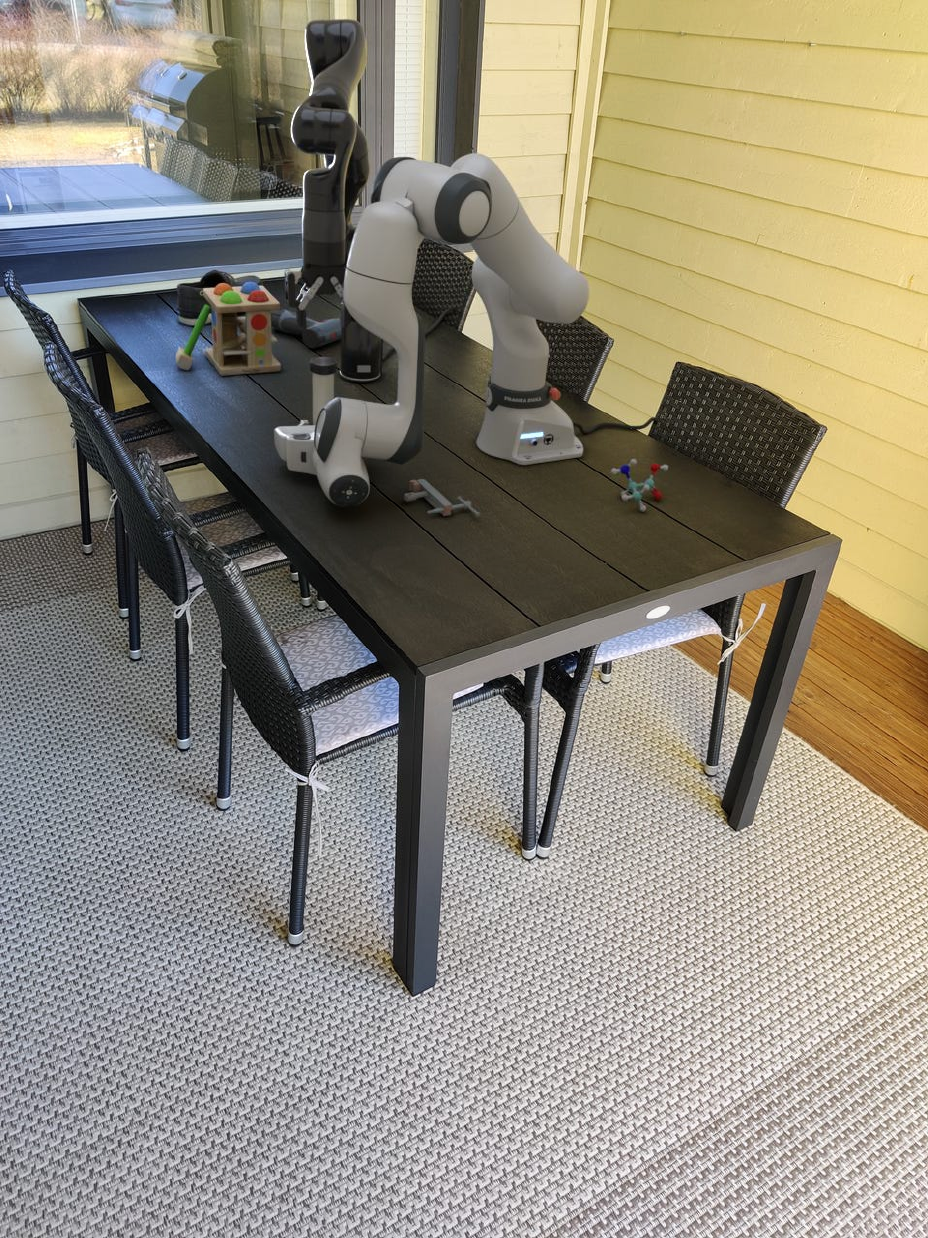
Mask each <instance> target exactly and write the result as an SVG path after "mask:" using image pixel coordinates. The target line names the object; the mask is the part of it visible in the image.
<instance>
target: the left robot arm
mask: <svg viewBox="0 0 928 1238" xmlns="http://www.w3.org/2000/svg"><path fill="white" fill-rule="evenodd" d="M367 44H368V43H367V37H366V31H365V29H364V27H363V24H361V22H359V21H358V20H356V19H352V18H351V19H350V18H343V19H342V18H338V19H336V18H335V19H333V18H332V19H314V20H311V21H308V22H307V24H306V26H305V30H304V45H305V51H306V53H305V54H306V58H307V64H308V69H309V75H310V79H311V87H310V92H309V96H308V97H307V98H306V99H304V100H303V101H302V102H301V103H300V105H299V106H298V107H297V109H296V110H295V112H294V114H293V116H292V119H291V126H290V135H291V139H292V142H293V145H295V147H296V148H297V149H298V150H299V152H302V153H304V154H307V155H319V156H320V155H321V156H323V163H324V167H320V168H319V167H318V168H313V169H312V168H311V169H309V170H306V172H304V175H303V177H302V178H303V179H302V180H303V181H302V190H303V191H302V193H303V196H302V197H303V198H302V199H303V202H302V203H303V207H302V216H301V217H302V218H301V249H302V250H301V251H302V253H301V257H302V261H301V263H302V265H301V268H300V270H291V269H289V268H288V269H286V270H284V297H285V298H284V301H285V303H286V304H288V306H289V307H290V308H295V313H296V323H297V325H298V326H299V327H300V328H301V329H302V330H306V318H307V309H306V307H307V306H308V304H309V302H310V301H311V300H312V299H313V298H314V297H315V295H316V296H322V295H331V296H332V295H334V294H336V296H337V298H338V299H339V301H340V302H341V305H340V318H341V338H340V370H339V376H340V377H341V378H342V380H345V381H348V382H352V383H359V384H360V383H361V384H364V383H365V384H366V383H367V384H369V383H373V382H376V381H378V380H380V378H381V375H382V374H383V362H384V361H385V360H387V358H388V356H390V354H392V353H393V352H396V350H395V349H394V348H393V347H391V348H390V349H388V350H387V351H386V352H385V353H384V340H383V339H381V338H380V337H378V336H376V335H375V334H373V333H371V332H370V331H368V330H367V329H365V328H364V327H363V326H361V325H360V324H359V323H358V322H357V321H356V320H355V319H354V318H353V317H352V316H351V314H350V313H349V311H348V310H347V308H346V305H345V302H344V299H343V289H344V287H343V286H342V285H343V284H344V278H345V271H346V266H347V261H348V255H349V251H350V247H351V243H352V240H353V236H354V233H355V230H356V227H357V226H355V225H354V224H353V210H354V207H355V206H356V203H357V201H358V200H359V198H360V196H361V195H362V193H363V192H364V189H365V188H366V186H367V184H368V181H369V180H370V176H371V161H370V151H369V142H368V138H367V136H366V134H365V133H364V130H363V129H362V128H361V126H360V125H359V123H358V122H357V121H356V119H354V117H353V115H352V114H351V113H350V107H351V101H352V96H353V93H354V91H355V90H356V88H357V87H358V85H359V83H360V81H361V79H362V77H363V75H364V73H365V70H366V66H367V61H368V45H367ZM300 279H302V281H303V282H304V285H303V286H302V288H301V289H300V293H299V294H298V296H297V298H296V285H297V284H298V283H299V280H300ZM453 307H454V306H450V307H448V308H447V309H446V310H445V311H443V312H442V313H441V314H440V316H439V317H438V318H437V320H436V321H435V323H434V324H432V326H430V327H429V328H428V329H427V330H425V331H424V332H425V337H426V336H428V335H429V334H431V333H432V332H433V331H434V330H435V329H436V328H437V327H438V326H439V324H440V323H441V322H442V320H443V318H444V317H445V316H446V315H447V314H449V313H450V312H451V311H453V312H458V309H457V307H456V308H455V309H453ZM383 353H384V354H383Z"/></svg>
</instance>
